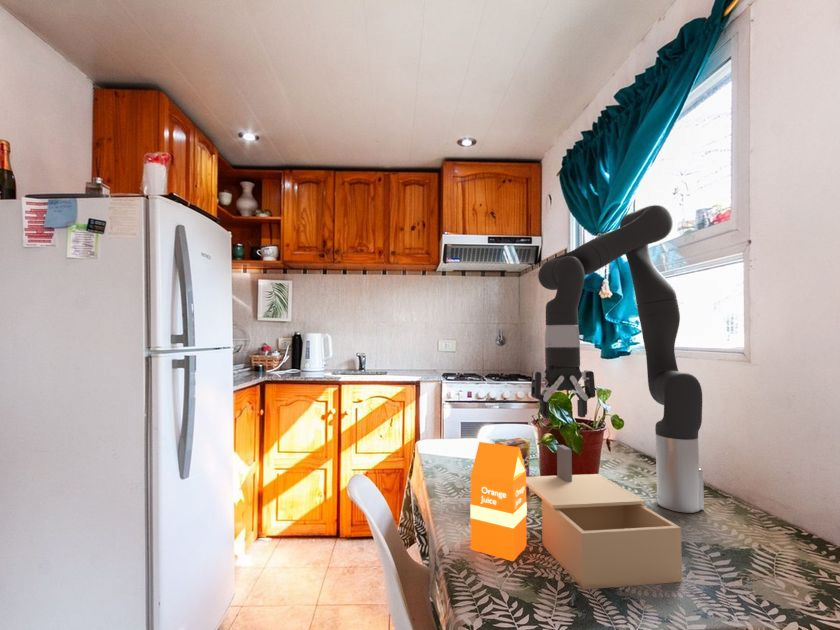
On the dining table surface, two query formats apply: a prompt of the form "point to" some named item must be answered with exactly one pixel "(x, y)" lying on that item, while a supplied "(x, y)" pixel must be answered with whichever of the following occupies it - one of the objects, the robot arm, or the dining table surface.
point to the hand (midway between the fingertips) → (563, 417)
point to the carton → (613, 545)
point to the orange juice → (498, 501)
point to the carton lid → (578, 487)
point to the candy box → (525, 453)
